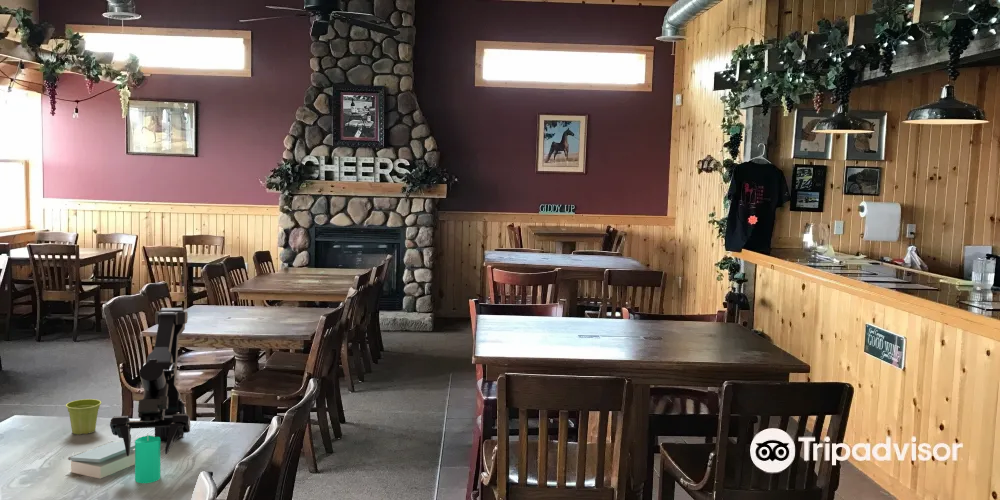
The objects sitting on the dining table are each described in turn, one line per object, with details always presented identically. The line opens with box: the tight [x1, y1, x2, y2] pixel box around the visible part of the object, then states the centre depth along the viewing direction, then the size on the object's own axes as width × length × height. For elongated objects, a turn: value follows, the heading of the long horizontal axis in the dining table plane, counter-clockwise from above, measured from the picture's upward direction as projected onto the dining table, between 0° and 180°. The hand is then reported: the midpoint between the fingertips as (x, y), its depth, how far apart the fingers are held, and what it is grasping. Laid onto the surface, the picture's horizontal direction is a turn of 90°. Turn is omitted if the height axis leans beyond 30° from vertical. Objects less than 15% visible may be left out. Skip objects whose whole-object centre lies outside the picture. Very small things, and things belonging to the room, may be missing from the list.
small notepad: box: [70, 449, 135, 479], centre depth 205 cm, size 14×10×3 cm
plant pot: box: [65, 398, 102, 435], centre depth 231 cm, size 9×9×9 cm
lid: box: [67, 440, 135, 462], centre depth 205 cm, size 14×11×1 cm
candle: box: [134, 434, 162, 484], centre depth 197 cm, size 6×6×12 cm
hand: (146, 454), depth 196 cm, fingers open, 9 cm apart
